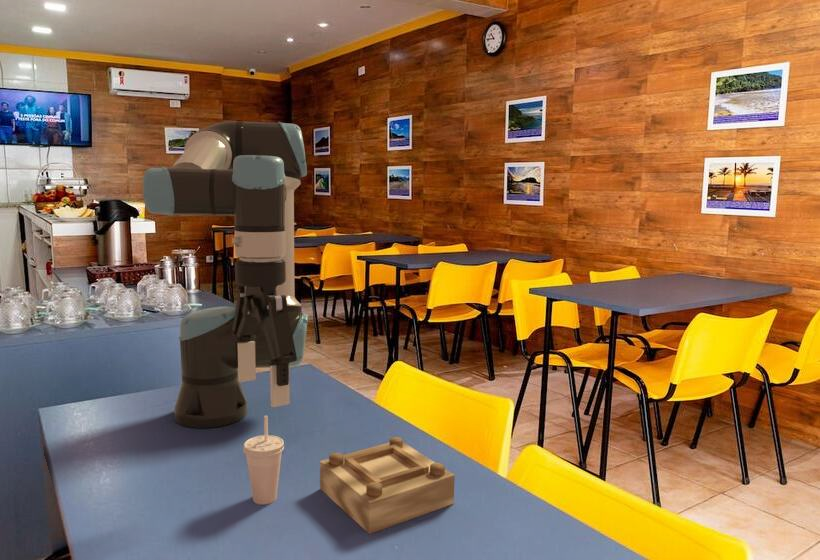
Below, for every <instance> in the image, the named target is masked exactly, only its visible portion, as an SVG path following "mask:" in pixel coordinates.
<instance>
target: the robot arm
mask: <svg viewBox="0 0 820 560" xmlns="http://www.w3.org/2000/svg"><path fill="white" fill-rule="evenodd" d="M307 168H308V167H307V161H306V152H305V144H304V138H303V132H302V130H301V127H300V126H299V125H298V124H295V123H289V122H288V123H286V122H281V121H278V122H271V121H269V122H268V121H267V122H266V121H239V120H229V121H222V122H217V123H213V124H210V125H208V126H205V127H203V128H201V129H199V130H197V131H196V132H194V133H193V134H192V135H191V136H190V137H189V138H188V139H187V140H186V142H185V145H184V149H183V153H182V154H181V156H180V157H179V158H177V160H176V162H175V163H174V164H173V165H172V166H171V167H166V166H161V167H152V168H151V167H150V168H148V169H146V171H145V172H144V175H143V178H142V197H143V203H144V206H145V208H146V210H147V211H148V212H149V213H150V214H152V215H165V216H166V215H167V216H168V217H172V216H234V227H233V229H234V237H232V238H231V243H232V245H234V255H235V256H236V257H238V258H239V259H236V261H235V262H234V274H235V276H234V278H235V283H236V284H237V297H236V298H237V300H236V304H235V307H234V306H214V307H208V308H203V309H199V310H195V311H193V312H190V313H187V314H186V315H185V316H184V317H182V319H181V320H180V324H179V337H178V339H179V342H180V343H179V344H180V346H179V347H180V348H179V349H180V366H181V367H180V368H181V385H180V388H179V390H178V391H179V392H178V395H177V399H176V402H175V404H174V421H176V423H177V424H179V425H182V426H184V427H190V428H196V429H198V428H200V429H201V428H202V429H203V428H204V429H205V428H208V429H209V428H218V427H223V426H227V425H230V424H233V423H236V422H238V421H241V420H242V419H243V418H245V416H246V415H247V414H248V401H247V398H246V395H245V393H244V391H243V387H242V385H241V383H243V382H249V381H256V379H257V377H256V376H257V374H256V373H257V371H256V369H262V368H263V369H264V368H265V369H266V368H267V369H268V368H269V369H270V370H269V374H270V375H269V380H270V381H269V382H270V385H269V389H270V406H271V408H275V407H280V406H285V405H290V404H291V402H290V401H291V398H290V397H291V395H290V388H291V387H290V386H291V385H290V367H296V366H298V365H300V364H301V363H302V362H303V360H304V355H305V346H306V338H307V331H308V320H309V314H308V313H306V312H304V311H302V309H303V308H302V304H301V302H299V301H298V300H297V299H296V296H295V295H296V294H295V293H296V292H295V197H294V196H295V194H294V193H295V191H296V190H297V189H298V187H299V186H300V185H301V178H304V177H306V176H307V175H308V170H307Z"/></svg>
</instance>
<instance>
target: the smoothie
mask: <svg viewBox="0 0 820 560" xmlns="http://www.w3.org/2000/svg"><path fill="white" fill-rule="evenodd" d="M268 419H269V417H268V415H263V424H264V426H263V430H264V431H263V432H264V434H263V435H262V434H261V435H257V436H253V437H251V438H249V439H247V440H245V442H244V443H243V453H244V454H245V455H246V463H247V469H248V476H249V482H250V488H251V495H252V500H253V503H255V504H256V505H262V506H263V505H270V504H273V503H274V502H275V501H276V500H277V496H278V489H279V488H278V486H279V478H280V470H281V462H282V461H281V460H282V452H283V450H284V449H285V445H284V444H285V443H284V440H283V438H281V437H279V436H278V435H277V436H276V435H272V434H271V435H269V425H268V424H269V423H268V422H269V420H268Z"/></svg>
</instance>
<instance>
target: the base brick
mask: <svg viewBox="0 0 820 560" xmlns="http://www.w3.org/2000/svg"><path fill="white" fill-rule="evenodd" d="M455 478H456V477H455V474H454V473H452V472H451V471H449V470H448V469H446V466H445V465H444V464H443V463H440V462H435V461H433V460H432V459H430V458H429V457H427V456H426V455H424V454H422V453H421V452H420V451H417V450H416V449H415V448H413V447H412V446H410V445H408V444H407V443H406V442H404V439H403V438H402V437H399V436H395V437H394V436H393V437H390V438H389V442H386V443H383V444H380V445H376V446H371V447H368V448H363V449H360V450H356V451H353V452H349V453H345V454H343V453H340V452H334V453H331V454H329V456H328V458H327V459H323V460H320V461H319V489H320V491H322V492H323V493H324V494H325V495H326V496H327V497H328V498H329V499H331V501H333V503H335V504H336V505H337V506H339V508H340V509H341V510H343V512H345V513H346V514H347V515H348V516H349V517H350V518H351V519H352V520H353V521H355V523H357V524H358V525H359V526H360V527H361V528H362V529H363V530H364V531H365V532H367V533H368V534H369V535H371V534H374V533H376V532H380V531H383V530H385V529H387V528H391V527H393V526H396V525H398V524H401V523H403V522H404V523H405V522H407V521H409V520H410V521H411V520H412V519H416V518H418V517H421V516H424V515H426V514H429V513H432V512H434V511H438V510H440V509H443V508H446V507H447V506H452V505H454V504H455V502H454V501H455V500H454V499H455Z"/></svg>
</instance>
